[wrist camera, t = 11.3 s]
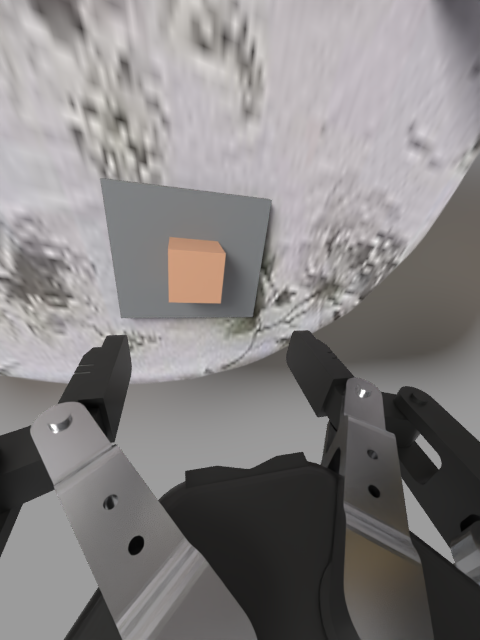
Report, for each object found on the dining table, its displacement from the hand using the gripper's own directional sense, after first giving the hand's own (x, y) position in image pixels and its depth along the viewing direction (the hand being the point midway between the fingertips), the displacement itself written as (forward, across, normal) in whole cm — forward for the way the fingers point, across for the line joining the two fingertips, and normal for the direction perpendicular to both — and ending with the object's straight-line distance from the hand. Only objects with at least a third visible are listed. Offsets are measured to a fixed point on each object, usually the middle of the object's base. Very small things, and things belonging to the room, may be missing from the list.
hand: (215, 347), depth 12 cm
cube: (+17, 0, +1) cm, 17 cm away
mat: (+18, 0, +1) cm, 18 cm away
